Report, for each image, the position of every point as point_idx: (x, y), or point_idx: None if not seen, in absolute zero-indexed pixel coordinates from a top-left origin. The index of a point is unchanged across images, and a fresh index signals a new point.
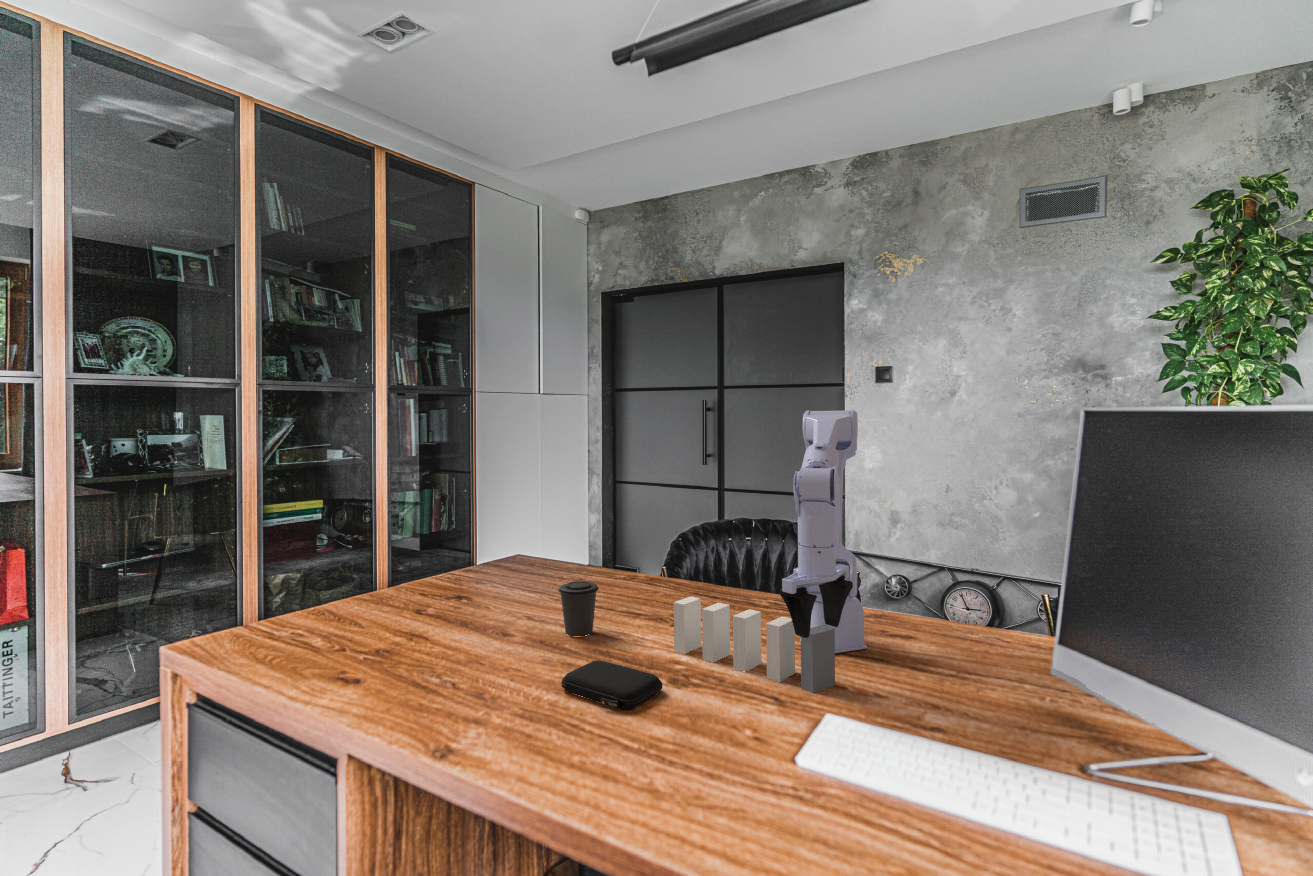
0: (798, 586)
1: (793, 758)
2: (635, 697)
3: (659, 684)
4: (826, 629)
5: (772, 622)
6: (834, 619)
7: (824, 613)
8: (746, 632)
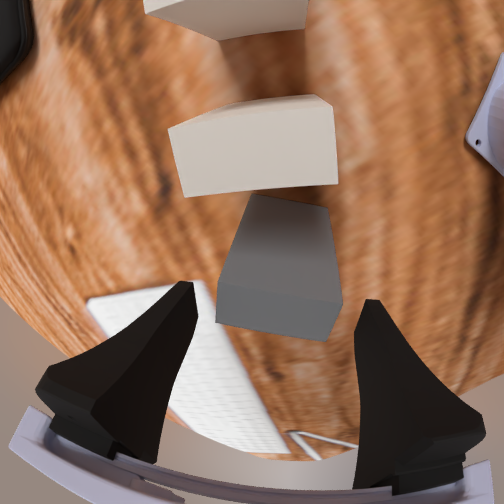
0: (91, 460)
1: (88, 298)
2: None
3: (14, 60)
4: (299, 331)
5: (203, 136)
6: (359, 348)
7: (376, 325)
8: (186, 19)
